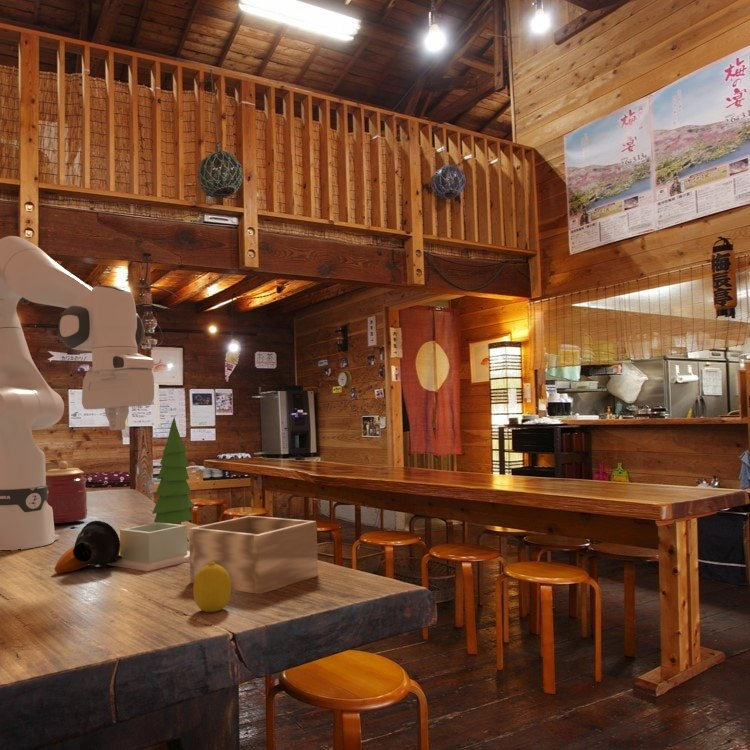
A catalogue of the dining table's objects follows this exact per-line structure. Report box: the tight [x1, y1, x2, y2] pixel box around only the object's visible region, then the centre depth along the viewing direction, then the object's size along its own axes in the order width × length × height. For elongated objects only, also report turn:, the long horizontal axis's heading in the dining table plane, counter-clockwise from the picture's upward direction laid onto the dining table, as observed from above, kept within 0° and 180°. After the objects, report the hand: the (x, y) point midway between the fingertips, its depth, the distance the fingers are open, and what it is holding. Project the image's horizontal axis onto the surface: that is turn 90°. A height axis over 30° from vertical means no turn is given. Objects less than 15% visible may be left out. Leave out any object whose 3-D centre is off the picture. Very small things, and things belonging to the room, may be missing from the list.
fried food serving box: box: [188, 515, 319, 595], centre depth 120 cm, size 17×15×10 cm
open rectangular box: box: [106, 522, 190, 572], centre depth 139 cm, size 14×14×7 cm
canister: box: [46, 460, 88, 524], centre depth 201 cm, size 13×13×18 cm
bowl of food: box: [73, 520, 123, 567], centre depth 135 cm, size 9×11×18 cm
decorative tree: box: [151, 416, 195, 542], centre depth 161 cm, size 10×9×30 cm
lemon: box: [192, 562, 232, 613], centre depth 100 cm, size 6×6×8 cm
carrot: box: [54, 545, 92, 574], centre depth 134 cm, size 5×5×15 cm
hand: (117, 430), depth 137 cm, fingers closed
